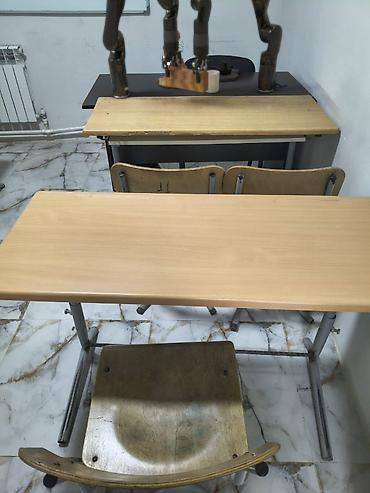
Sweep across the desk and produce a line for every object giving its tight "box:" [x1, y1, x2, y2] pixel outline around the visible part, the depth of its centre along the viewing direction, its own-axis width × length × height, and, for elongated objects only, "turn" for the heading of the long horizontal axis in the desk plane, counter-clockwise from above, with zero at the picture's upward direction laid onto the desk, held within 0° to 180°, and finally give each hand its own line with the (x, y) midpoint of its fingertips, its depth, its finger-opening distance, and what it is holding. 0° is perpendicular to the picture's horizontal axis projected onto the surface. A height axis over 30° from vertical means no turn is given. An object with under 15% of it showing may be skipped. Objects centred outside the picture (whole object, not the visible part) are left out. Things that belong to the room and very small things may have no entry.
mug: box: [205, 69, 220, 94], centre depth 205 cm, size 12×8×10 cm
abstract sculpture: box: [209, 58, 240, 83], centre depth 228 cm, size 25×9×20 cm
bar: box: [164, 66, 209, 93], centre depth 185 cm, size 24×5×9 cm, turn 56°
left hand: (172, 75), depth 189 cm, fingers open, 7 cm apart
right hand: (201, 81), depth 181 cm, fingers closed on bar, 4 cm apart
